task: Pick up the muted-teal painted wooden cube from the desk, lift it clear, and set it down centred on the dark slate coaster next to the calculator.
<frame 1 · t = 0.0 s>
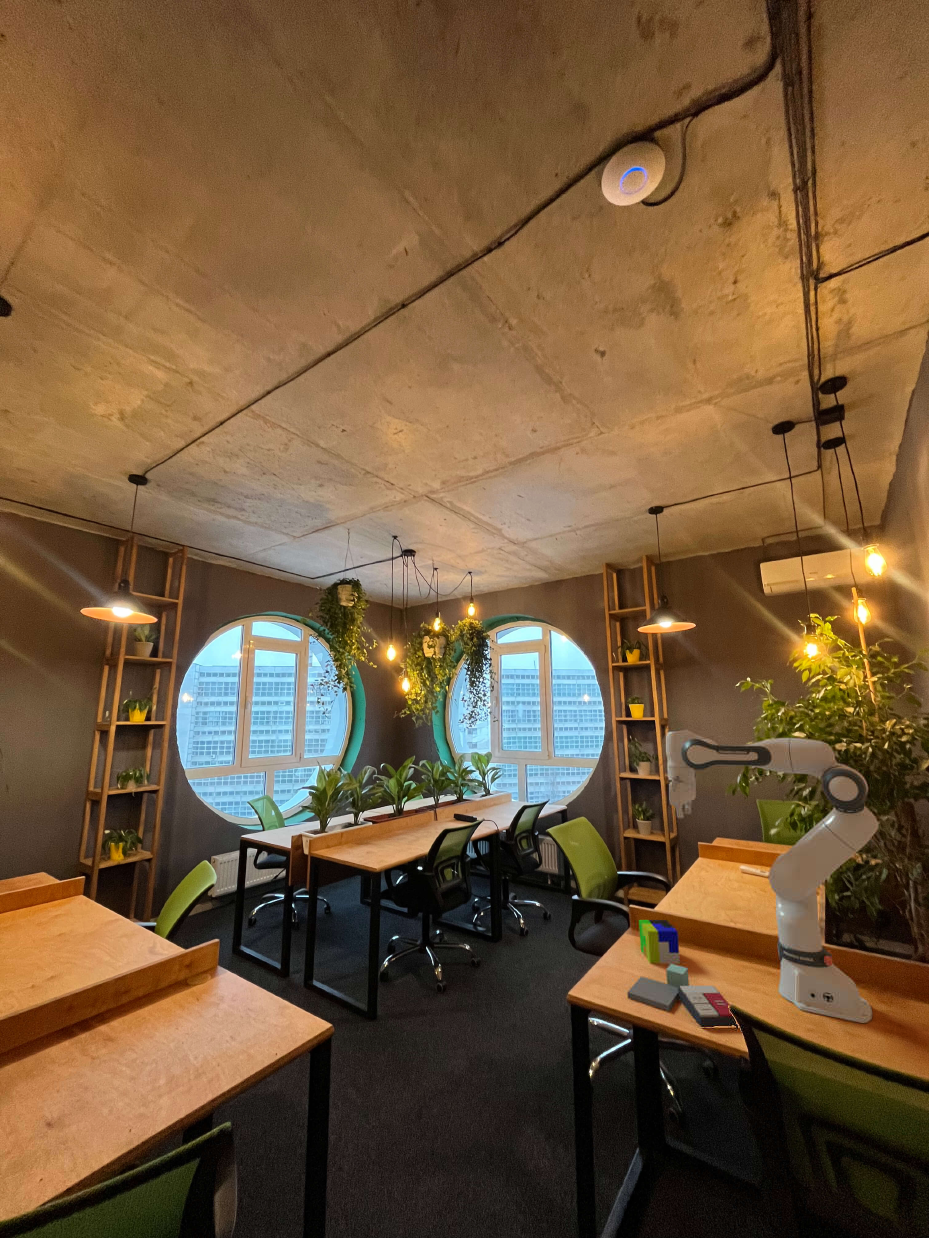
hand: (684, 815, 179), 48 cm above the table, fingers open, 8 cm apart
puzzle toy: (659, 957, 177), on the table
teal cube: (678, 986, 157), on the table
calculator: (708, 1014, 143), on the table
slate coaster: (654, 995, 152), on the table
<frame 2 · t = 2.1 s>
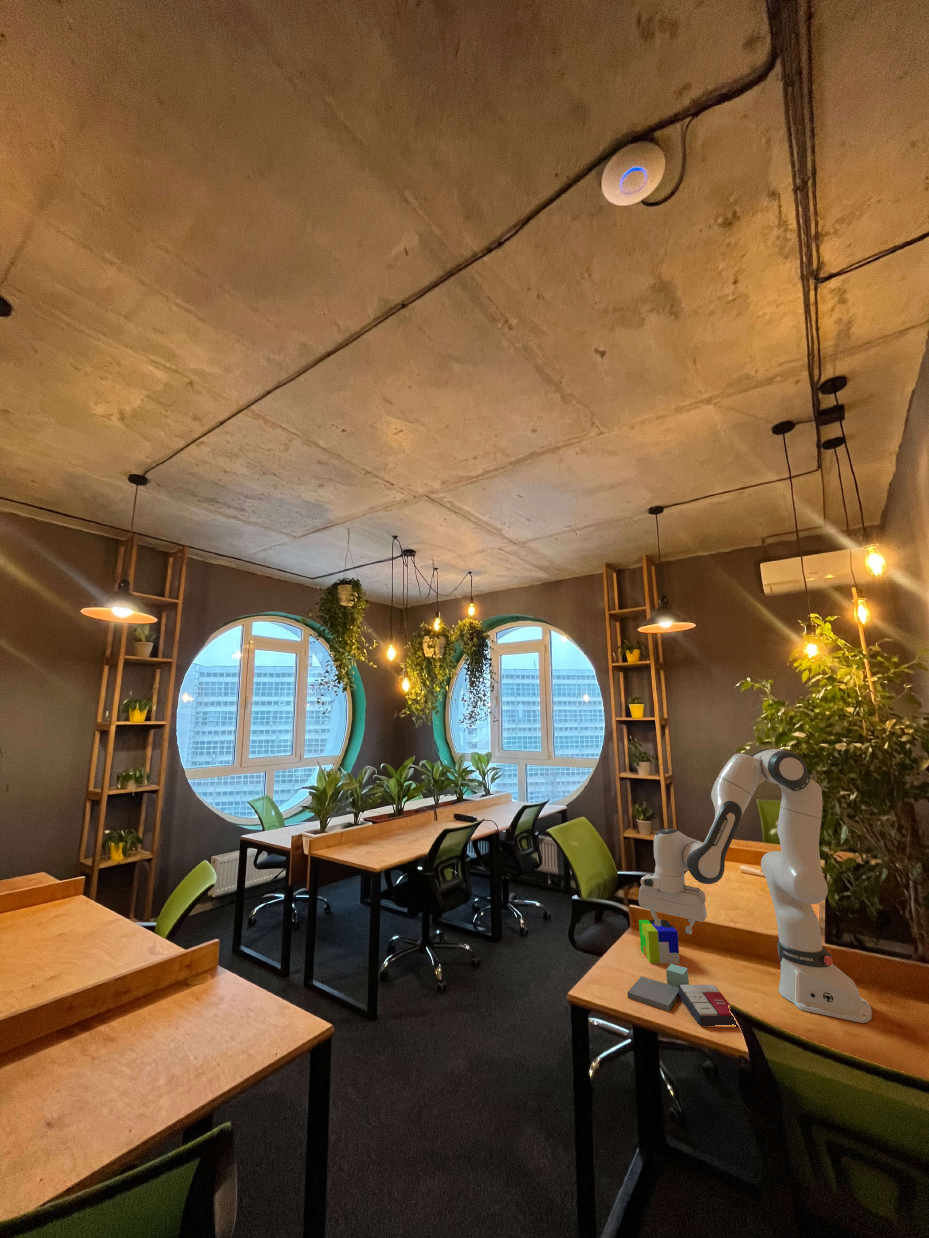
hand: (673, 929, 160), 16 cm above the table, fingers open, 8 cm apart
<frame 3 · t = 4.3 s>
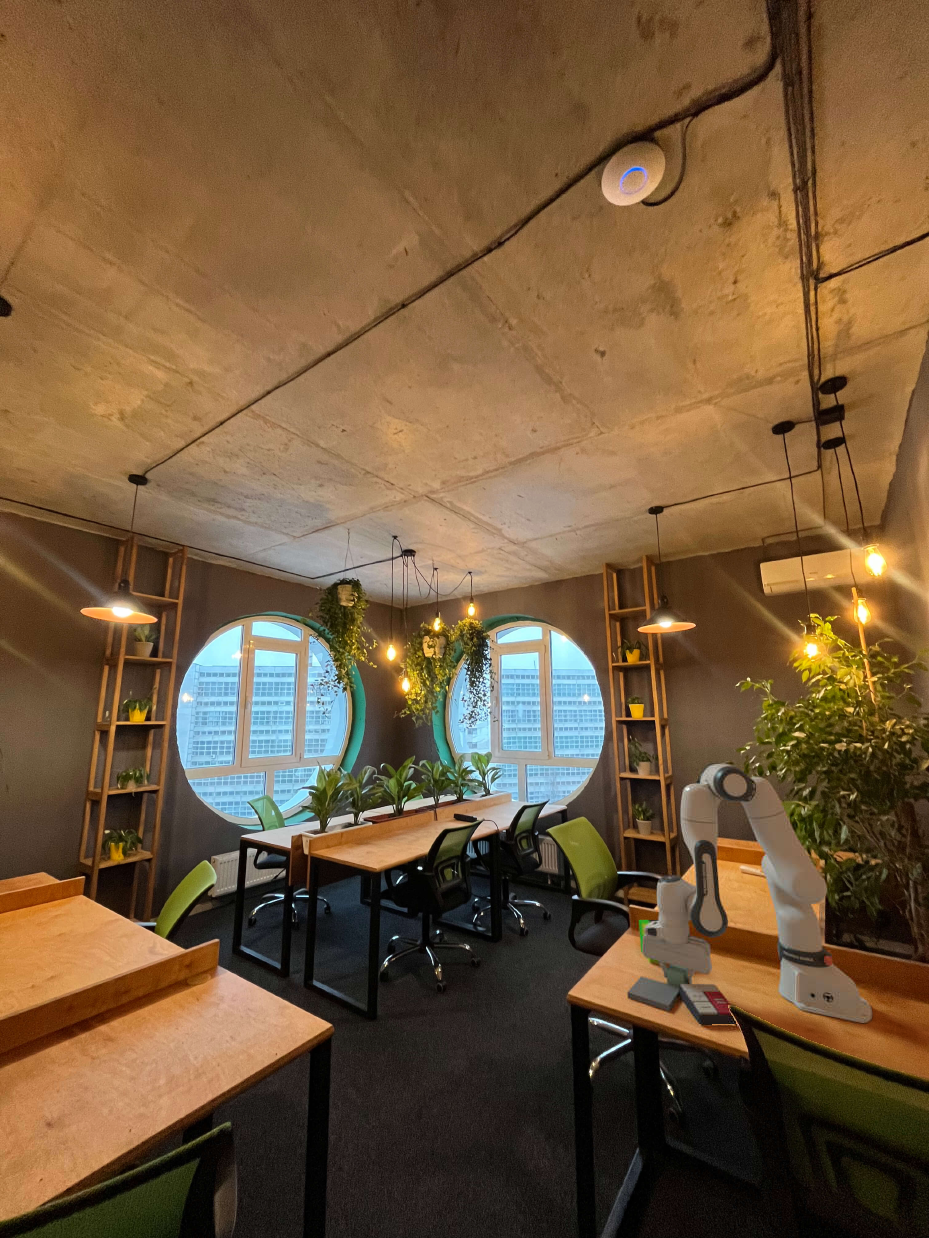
hand: (677, 980, 158), 2 cm above the table, fingers closed on teal cube, 5 cm apart
teal cube: (678, 986, 157), on the table, touching gripper
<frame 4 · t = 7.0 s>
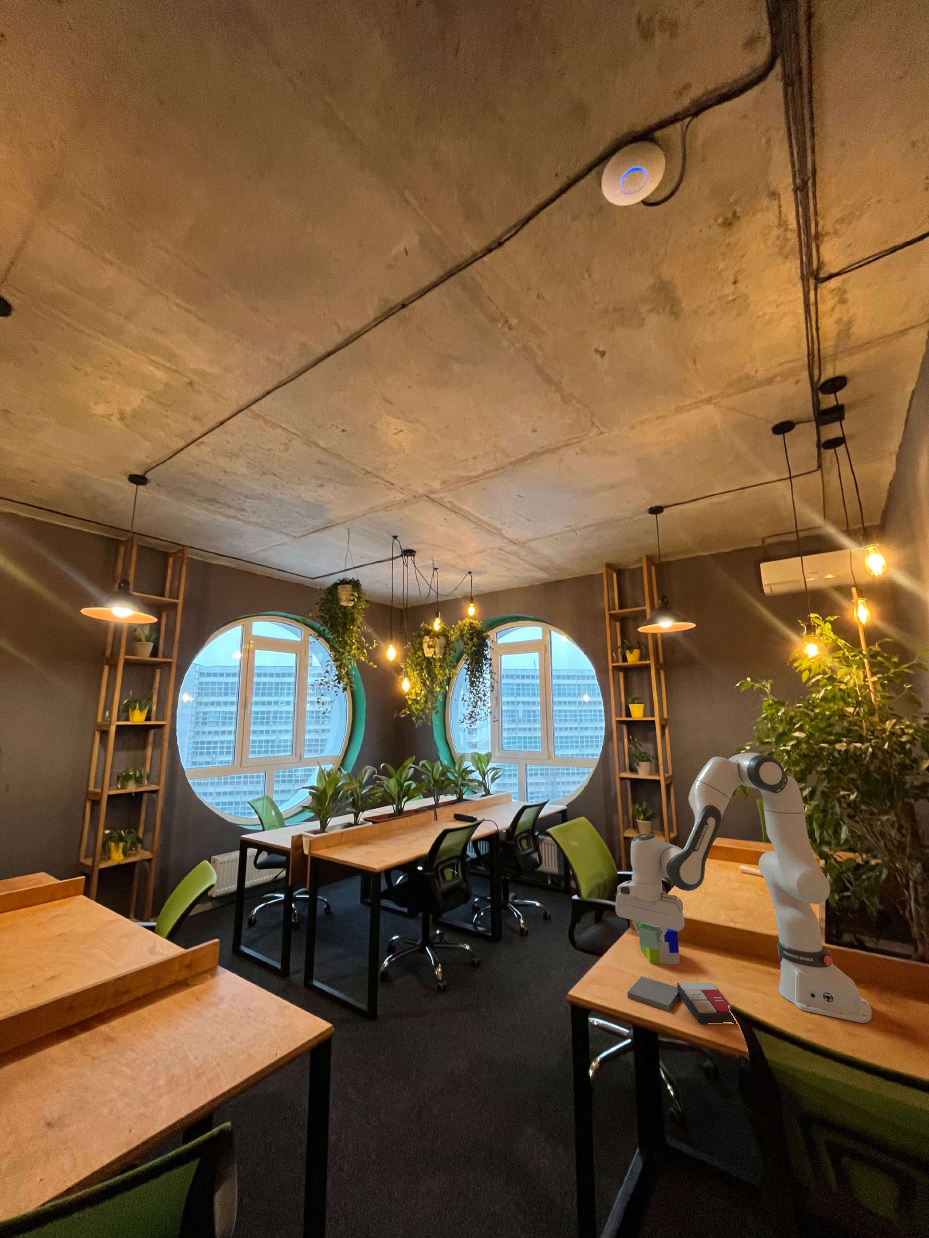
hand: (650, 938, 155), 15 cm above the table, fingers closed on teal cube, 5 cm apart
teal cube: (650, 944, 155), point 14 cm above the table, touching gripper
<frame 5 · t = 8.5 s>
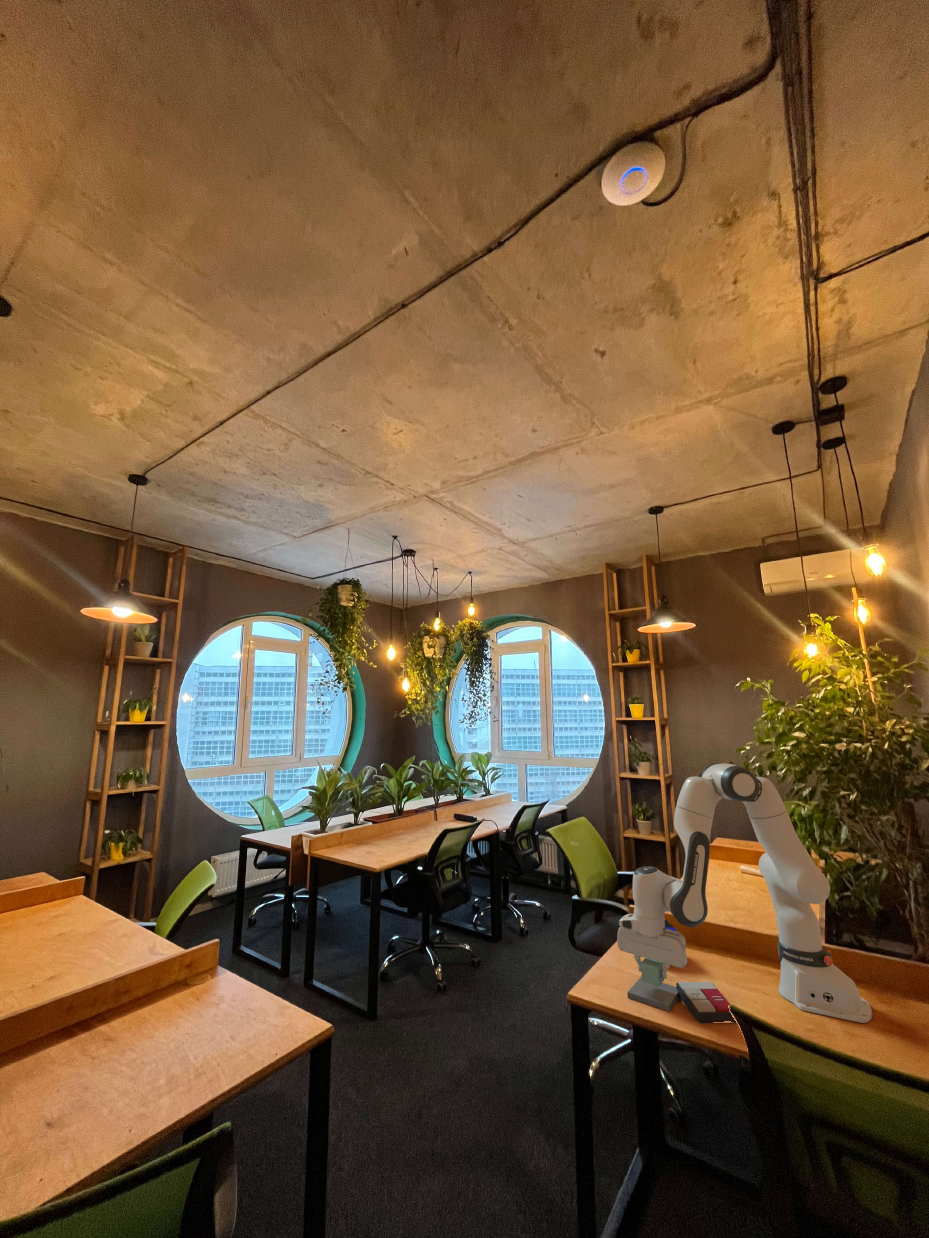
hand: (652, 974, 153), 6 cm above the table, fingers closed on teal cube, 5 cm apart
teal cube: (653, 980, 153), point 4 cm above the table, touching gripper
when the fingers open (5 cm above the table, at t = 9.6 s): teal cube drops 1 cm, resting on slate coaster.
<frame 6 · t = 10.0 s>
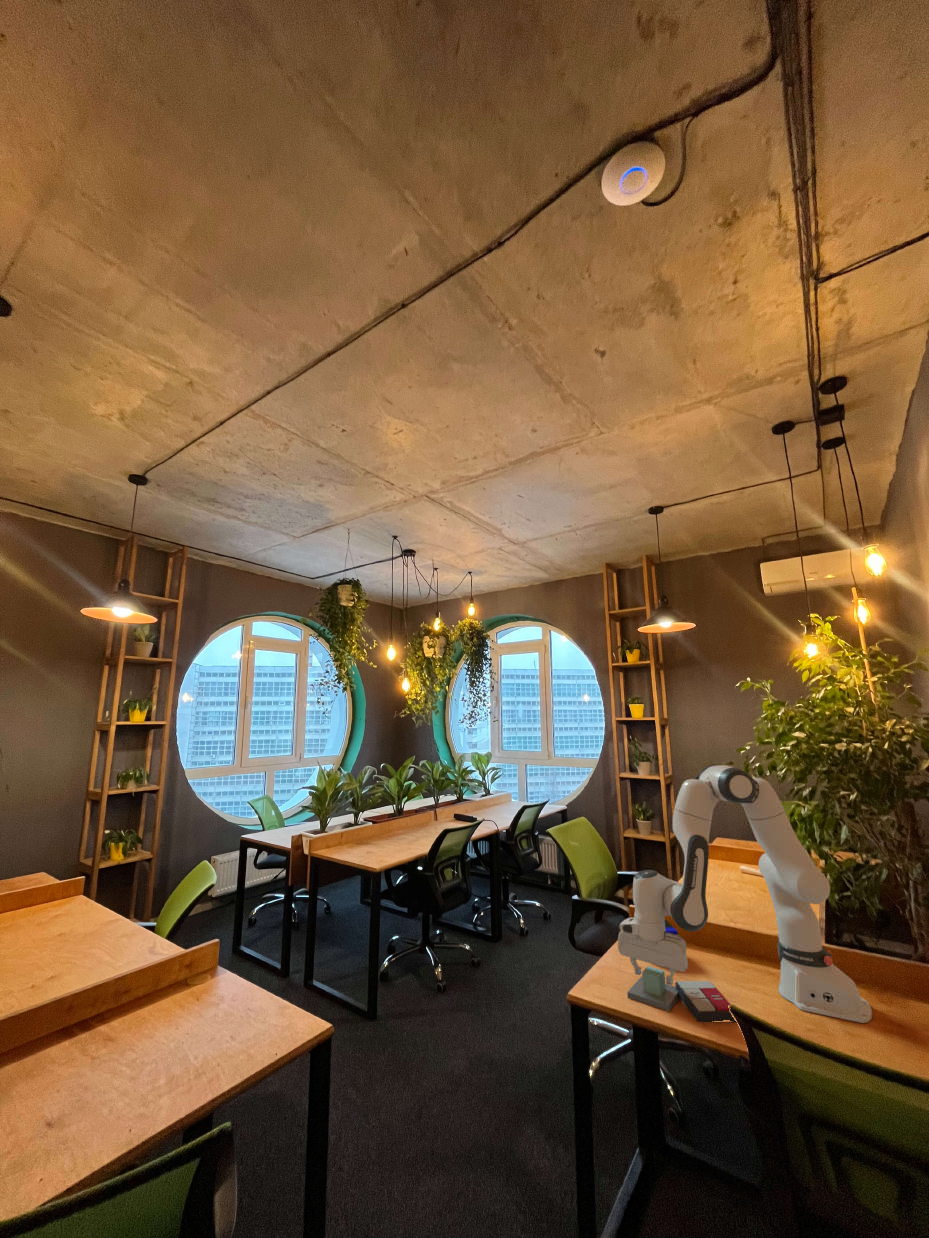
hand: (653, 978, 153), 5 cm above the table, fingers open, 8 cm apart
teal cube: (654, 990, 152), point 1 cm above the table, touching slate coaster
calculator: (705, 1009, 146), on the table, touching slate coaster
everything else where it was.
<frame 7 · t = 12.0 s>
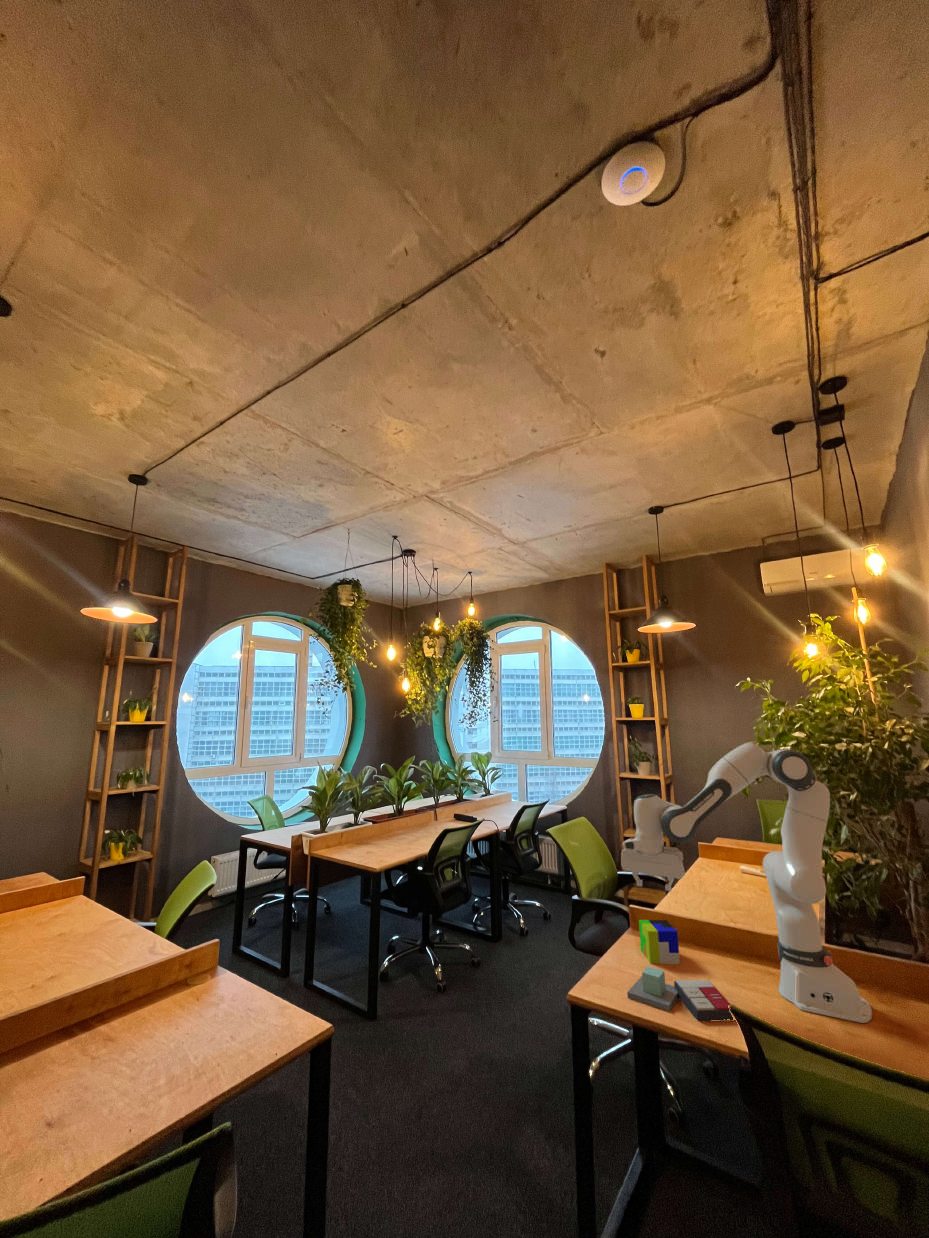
hand: (653, 888, 169), 26 cm above the table, fingers open, 8 cm apart
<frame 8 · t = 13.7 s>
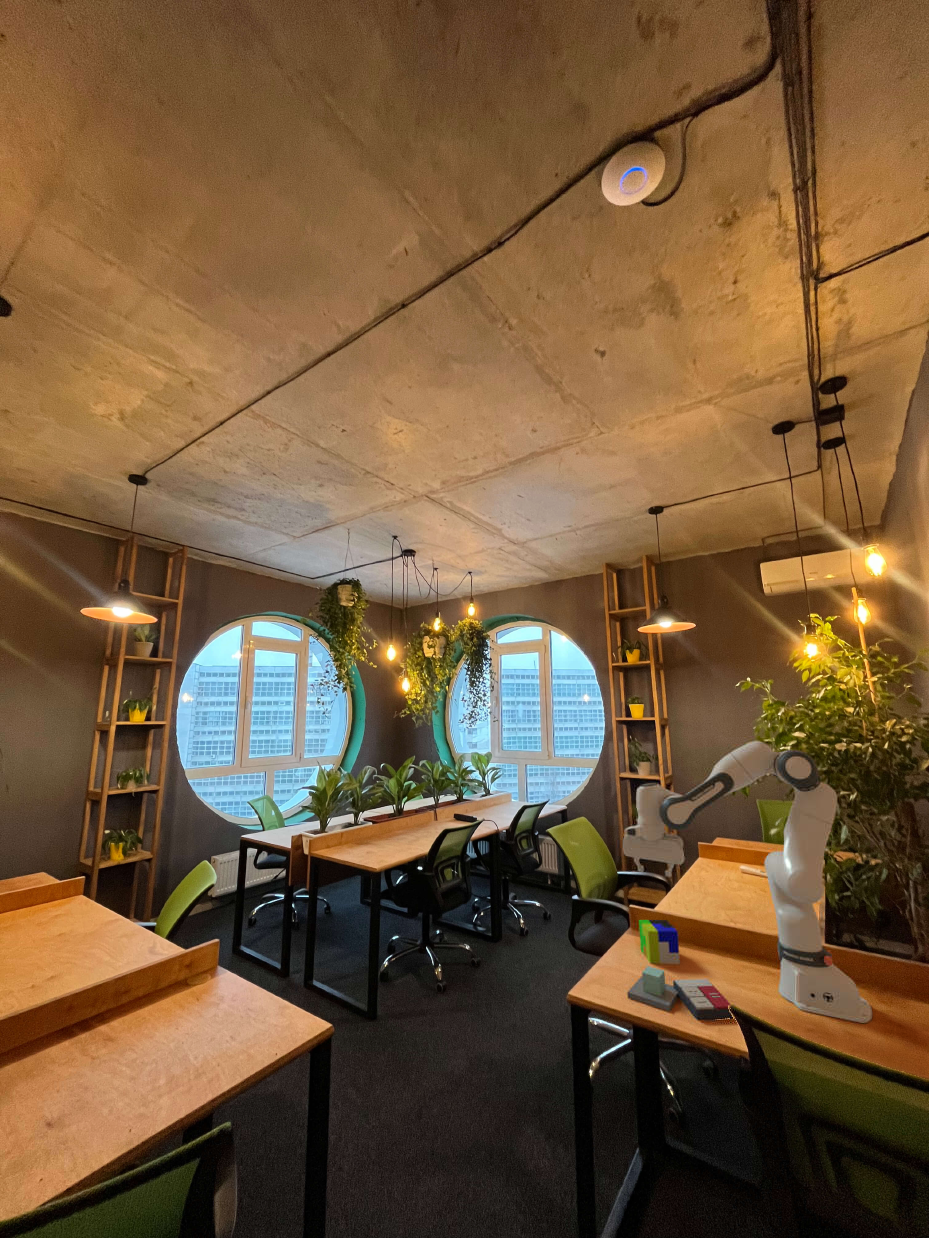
hand: (654, 873, 175), 29 cm above the table, fingers open, 8 cm apart
calculator: (703, 1007, 147), on the table
everything else where it was.
at the end: teal cube inside the target area on the slate coaster (0.1 cm from its centre), point 1.5 cm above the slate coaster's base; teal cube tilted 0°; the gripper is holding nothing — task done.
